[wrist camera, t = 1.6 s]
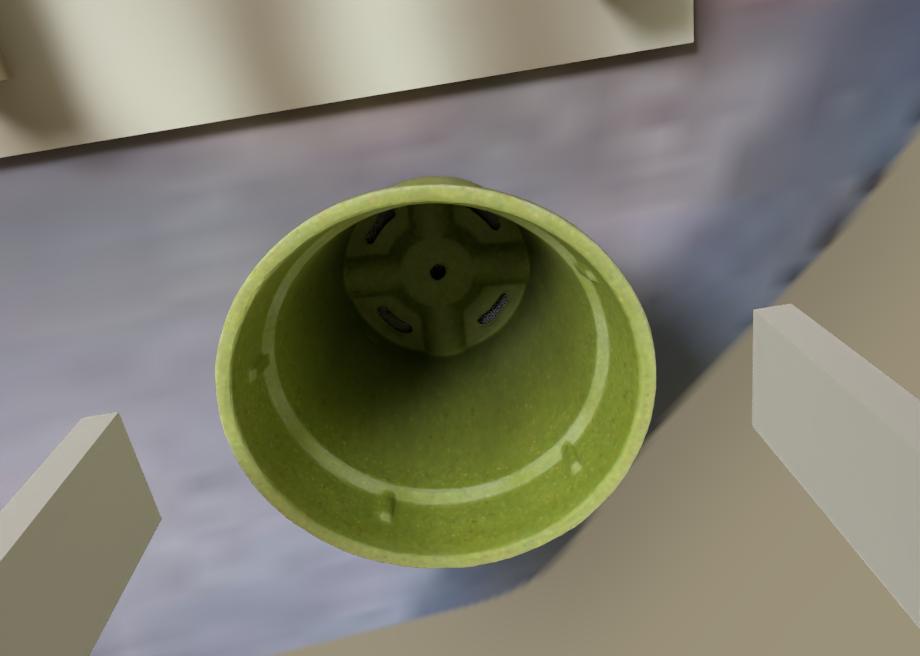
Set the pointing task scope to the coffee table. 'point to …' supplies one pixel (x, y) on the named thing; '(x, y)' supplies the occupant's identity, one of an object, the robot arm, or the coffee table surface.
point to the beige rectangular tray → (279, 55)
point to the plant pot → (436, 376)
